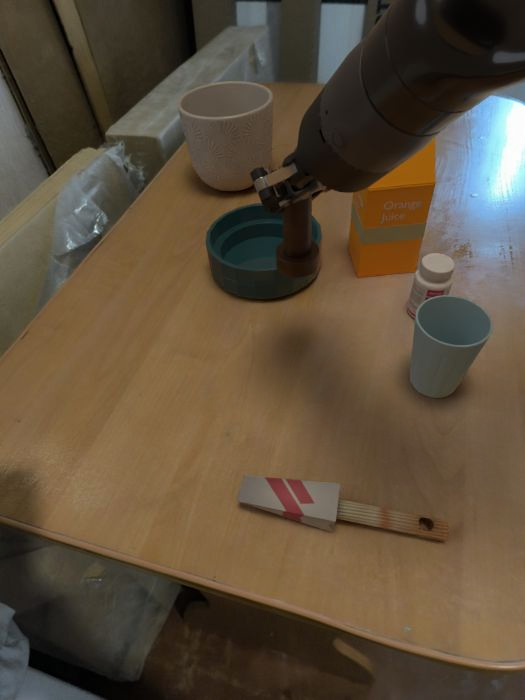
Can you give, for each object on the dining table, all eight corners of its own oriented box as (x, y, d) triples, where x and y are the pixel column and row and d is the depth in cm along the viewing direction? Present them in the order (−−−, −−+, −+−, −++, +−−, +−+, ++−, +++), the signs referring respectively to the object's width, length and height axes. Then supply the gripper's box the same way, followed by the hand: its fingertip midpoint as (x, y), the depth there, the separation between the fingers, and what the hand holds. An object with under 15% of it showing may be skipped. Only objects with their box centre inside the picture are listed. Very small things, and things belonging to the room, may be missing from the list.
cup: (390, 361, 58) (404, 300, 50) (448, 351, 58) (471, 289, 50) (413, 410, 53) (433, 351, 45) (476, 399, 53) (507, 339, 45)
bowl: (315, 231, 77) (316, 199, 73) (325, 299, 66) (326, 266, 61) (215, 237, 78) (210, 206, 74) (207, 305, 67) (201, 273, 62)
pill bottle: (420, 327, 61) (434, 279, 55) (399, 306, 64) (410, 257, 58) (449, 316, 62) (466, 267, 56) (427, 295, 65) (441, 246, 59)
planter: (266, 154, 97) (261, 75, 86) (285, 193, 86) (283, 108, 75) (188, 167, 96) (172, 88, 84) (197, 209, 84) (181, 124, 73)
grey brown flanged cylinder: (316, 250, 53) (319, 157, 45) (321, 276, 50) (324, 182, 41) (275, 252, 53) (270, 161, 45) (277, 279, 50) (271, 185, 42)
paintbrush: (244, 463, 46) (449, 506, 43) (245, 475, 48) (441, 517, 45) (233, 499, 44) (450, 548, 40) (235, 510, 46) (442, 557, 42)
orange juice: (415, 272, 69) (446, 139, 54) (357, 278, 69) (372, 146, 54) (401, 242, 74) (426, 112, 59) (347, 247, 74) (358, 119, 59)
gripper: (433, 39, 32) (328, 147, 49) (261, 87, 29) (210, 186, 45) (469, 140, 33) (354, 213, 50) (306, 200, 29) (240, 257, 46)
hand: (286, 200), depth 47 cm, fingers closed on grey brown flanged cylinder, 3 cm apart
